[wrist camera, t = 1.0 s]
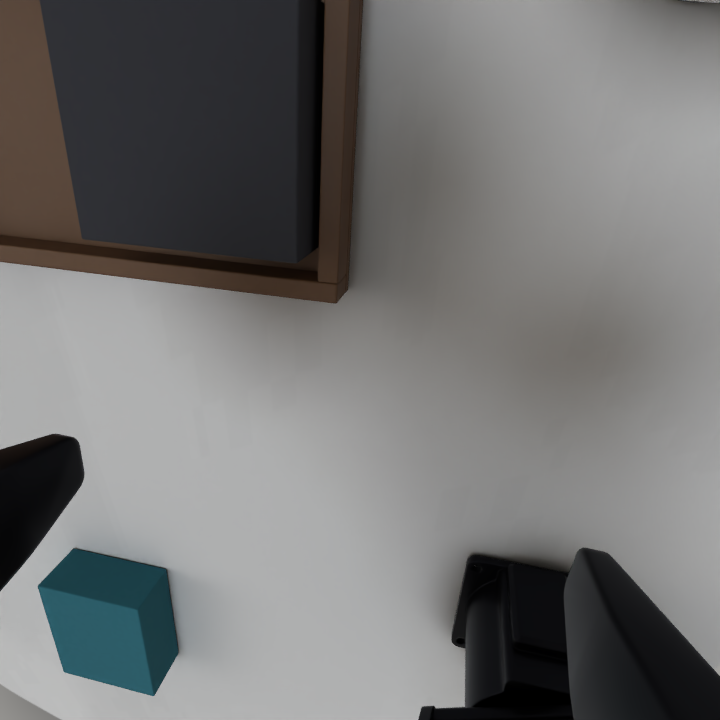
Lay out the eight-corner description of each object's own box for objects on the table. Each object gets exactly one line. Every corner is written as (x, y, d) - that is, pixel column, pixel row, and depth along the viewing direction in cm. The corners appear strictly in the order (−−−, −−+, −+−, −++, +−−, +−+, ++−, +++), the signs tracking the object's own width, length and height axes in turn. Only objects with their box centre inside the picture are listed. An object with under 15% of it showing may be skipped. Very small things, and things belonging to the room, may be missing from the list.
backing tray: (348, 289, 21) (336, 304, 19) (-48, 242, 24) (-90, 251, 22) (366, -60, 16) (353, -84, 14) (-137, -63, 19) (-200, -84, 17)
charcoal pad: (320, 246, 20) (297, 264, 17) (130, 226, 21) (80, 239, 18) (327, 4, 16) (299, -21, 14) (99, -2, 18) (33, -26, 15)
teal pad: (178, 652, 34) (154, 696, 31) (94, 631, 35) (63, 672, 32) (166, 568, 31) (137, 610, 28) (73, 547, 32) (36, 586, 29)
